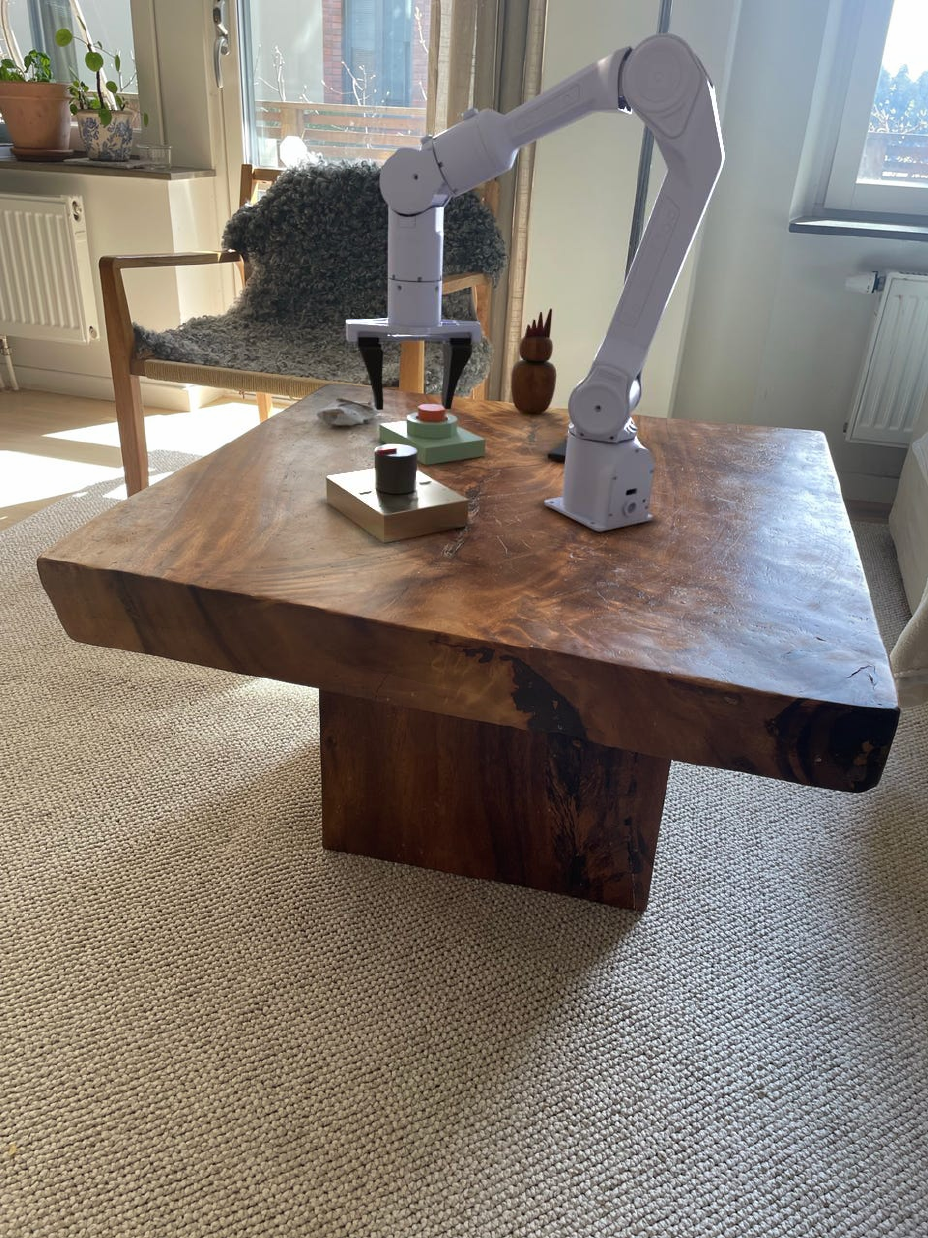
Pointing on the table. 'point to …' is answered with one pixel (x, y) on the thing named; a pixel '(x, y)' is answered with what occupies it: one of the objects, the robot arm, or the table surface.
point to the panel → (397, 506)
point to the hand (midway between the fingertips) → (412, 407)
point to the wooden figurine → (534, 369)
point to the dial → (395, 468)
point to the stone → (347, 412)
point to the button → (431, 413)
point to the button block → (434, 439)
